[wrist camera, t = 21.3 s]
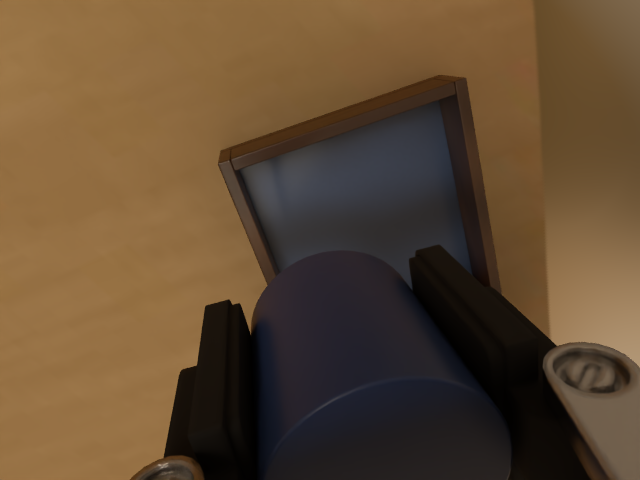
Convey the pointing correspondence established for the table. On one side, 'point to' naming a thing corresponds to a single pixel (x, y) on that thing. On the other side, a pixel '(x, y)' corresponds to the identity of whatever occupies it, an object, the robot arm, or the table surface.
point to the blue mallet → (364, 382)
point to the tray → (369, 183)
